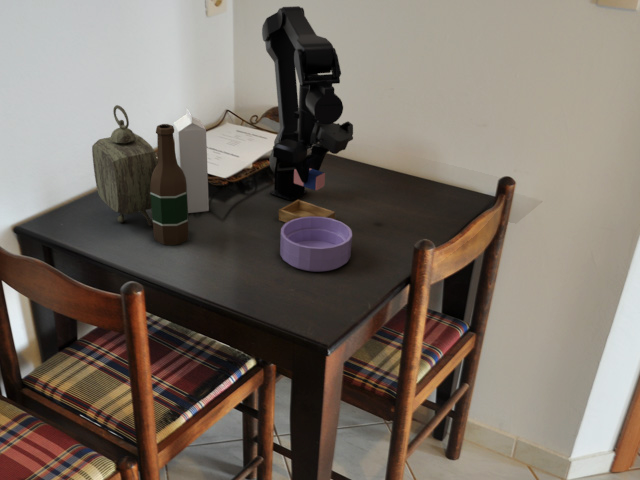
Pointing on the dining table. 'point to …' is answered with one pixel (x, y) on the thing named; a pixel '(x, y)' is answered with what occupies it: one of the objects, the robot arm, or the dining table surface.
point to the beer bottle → (168, 192)
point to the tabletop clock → (124, 170)
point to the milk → (193, 160)
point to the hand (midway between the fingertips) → (309, 180)
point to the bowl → (315, 243)
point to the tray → (303, 211)
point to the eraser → (311, 179)
